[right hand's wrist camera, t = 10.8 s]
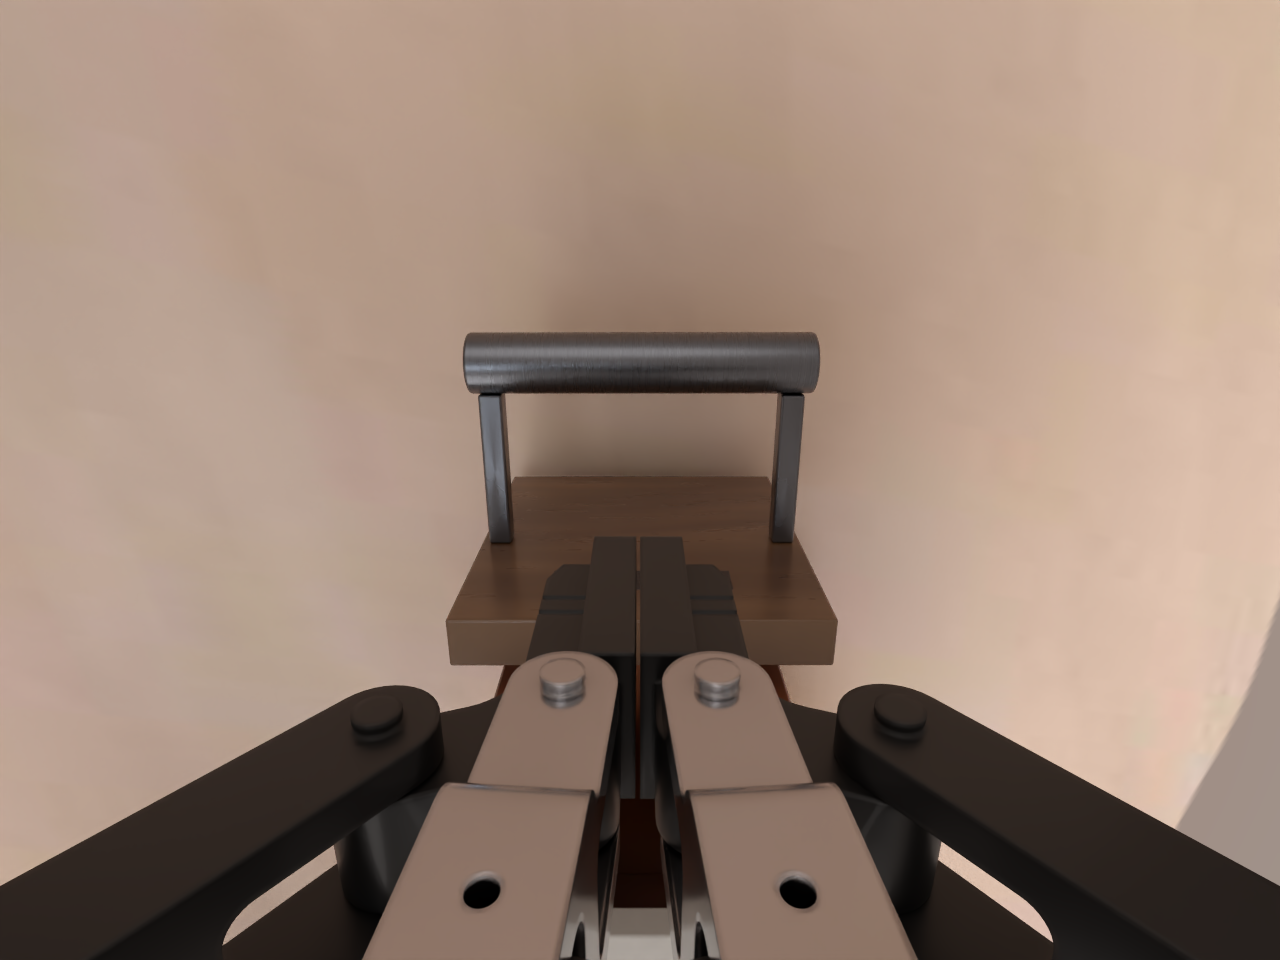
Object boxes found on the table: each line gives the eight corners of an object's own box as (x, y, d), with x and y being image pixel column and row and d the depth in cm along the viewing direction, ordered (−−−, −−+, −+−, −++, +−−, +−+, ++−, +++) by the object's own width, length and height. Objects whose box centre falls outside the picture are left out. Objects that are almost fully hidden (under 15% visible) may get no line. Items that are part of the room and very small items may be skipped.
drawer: (503, 308, 23) (417, 366, 14) (778, 307, 23) (866, 366, 14) (539, 864, 31) (499, 1123, 22) (742, 864, 31) (783, 1123, 22)
